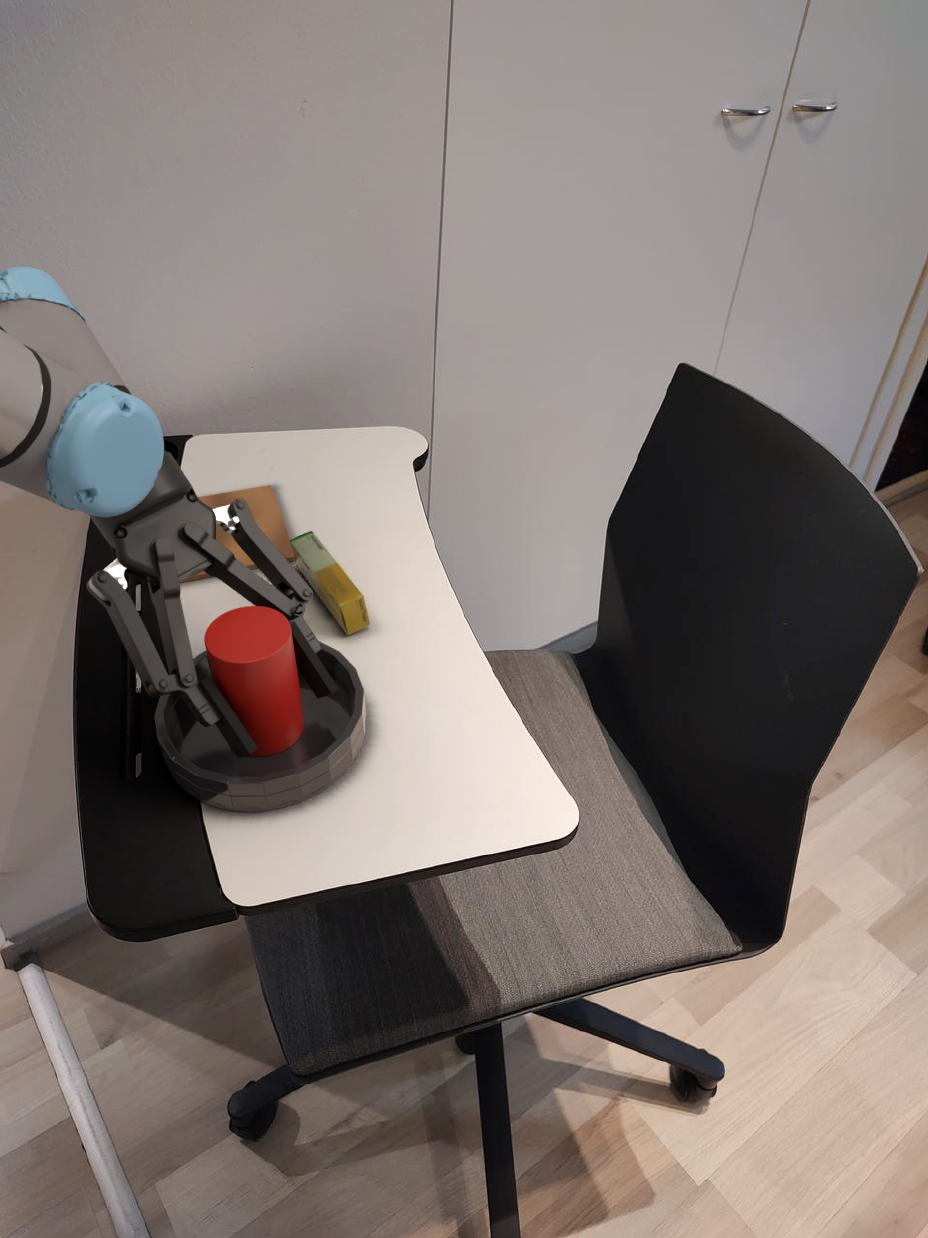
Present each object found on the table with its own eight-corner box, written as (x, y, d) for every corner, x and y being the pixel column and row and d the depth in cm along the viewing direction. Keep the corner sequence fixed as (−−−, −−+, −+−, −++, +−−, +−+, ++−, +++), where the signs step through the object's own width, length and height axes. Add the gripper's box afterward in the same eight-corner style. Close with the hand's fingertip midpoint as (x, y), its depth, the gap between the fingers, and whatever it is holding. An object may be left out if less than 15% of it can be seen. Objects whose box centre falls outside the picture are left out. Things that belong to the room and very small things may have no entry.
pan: (175, 836, 65) (166, 808, 63) (155, 686, 77) (147, 657, 75) (388, 780, 70) (387, 751, 68) (339, 645, 81) (336, 616, 79)
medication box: (296, 569, 90) (287, 538, 87) (320, 559, 91) (312, 528, 88) (346, 637, 82) (338, 605, 79) (372, 625, 83) (365, 593, 80)
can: (232, 765, 70) (209, 671, 63) (221, 708, 74) (198, 615, 68) (312, 745, 72) (298, 651, 65) (296, 691, 76) (282, 598, 69)
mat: (155, 587, 87) (154, 583, 87) (144, 510, 97) (142, 506, 96) (296, 560, 91) (295, 556, 90) (271, 489, 101) (270, 484, 100)
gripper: (216, 439, 75) (360, 663, 78) (-15, 546, 63) (166, 805, 67) (247, 403, 69) (402, 646, 72) (-1, 513, 57) (197, 799, 60)
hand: (289, 722), depth 69 cm, fingers open, 8 cm apart
